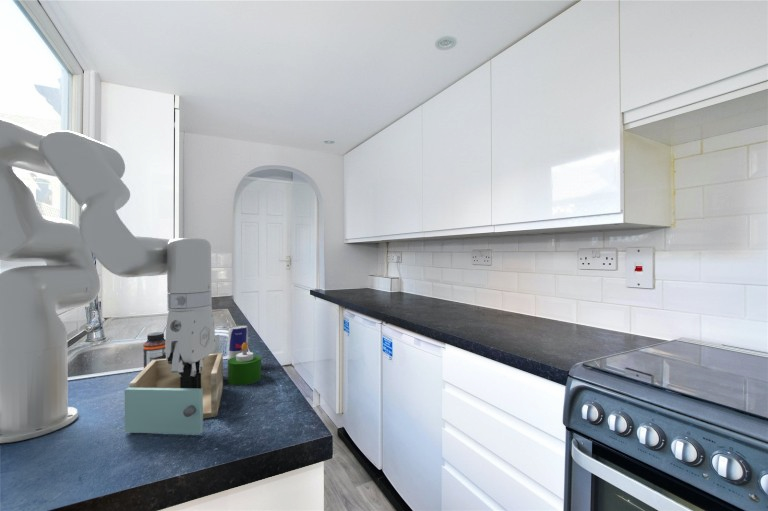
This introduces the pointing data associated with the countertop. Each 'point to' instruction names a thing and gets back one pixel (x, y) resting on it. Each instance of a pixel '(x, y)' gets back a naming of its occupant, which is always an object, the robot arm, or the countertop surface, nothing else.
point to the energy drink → (237, 339)
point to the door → (164, 410)
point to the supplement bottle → (154, 347)
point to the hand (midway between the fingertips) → (190, 394)
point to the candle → (244, 368)
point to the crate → (162, 377)
